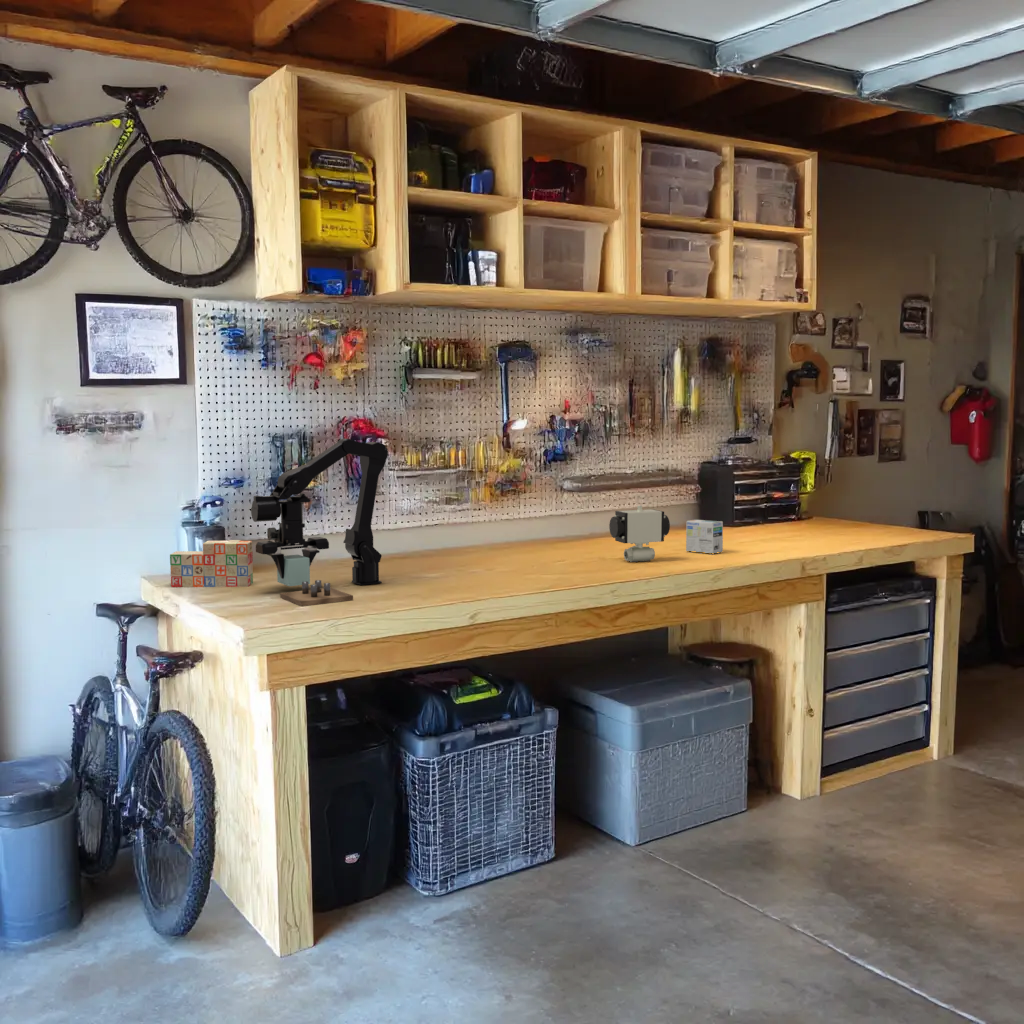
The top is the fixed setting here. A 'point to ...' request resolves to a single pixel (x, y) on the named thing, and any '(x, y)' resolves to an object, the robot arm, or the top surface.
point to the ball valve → (639, 531)
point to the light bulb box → (704, 536)
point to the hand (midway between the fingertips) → (293, 577)
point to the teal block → (295, 570)
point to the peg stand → (316, 595)
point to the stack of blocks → (214, 565)
